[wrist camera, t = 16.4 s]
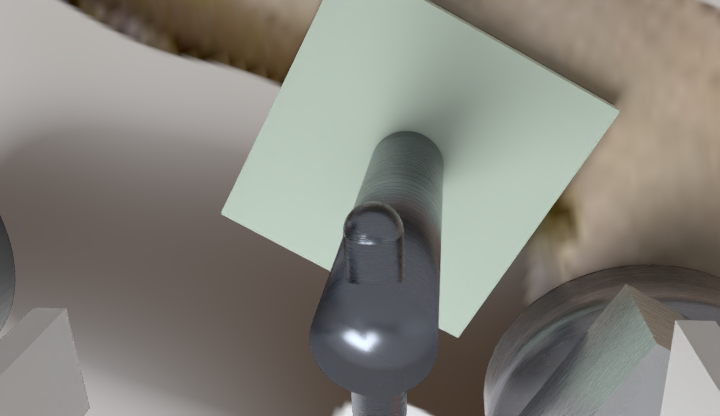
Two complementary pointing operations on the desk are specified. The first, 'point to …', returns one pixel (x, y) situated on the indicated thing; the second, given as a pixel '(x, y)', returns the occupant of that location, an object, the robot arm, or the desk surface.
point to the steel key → (386, 280)
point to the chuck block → (597, 343)
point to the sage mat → (425, 116)
